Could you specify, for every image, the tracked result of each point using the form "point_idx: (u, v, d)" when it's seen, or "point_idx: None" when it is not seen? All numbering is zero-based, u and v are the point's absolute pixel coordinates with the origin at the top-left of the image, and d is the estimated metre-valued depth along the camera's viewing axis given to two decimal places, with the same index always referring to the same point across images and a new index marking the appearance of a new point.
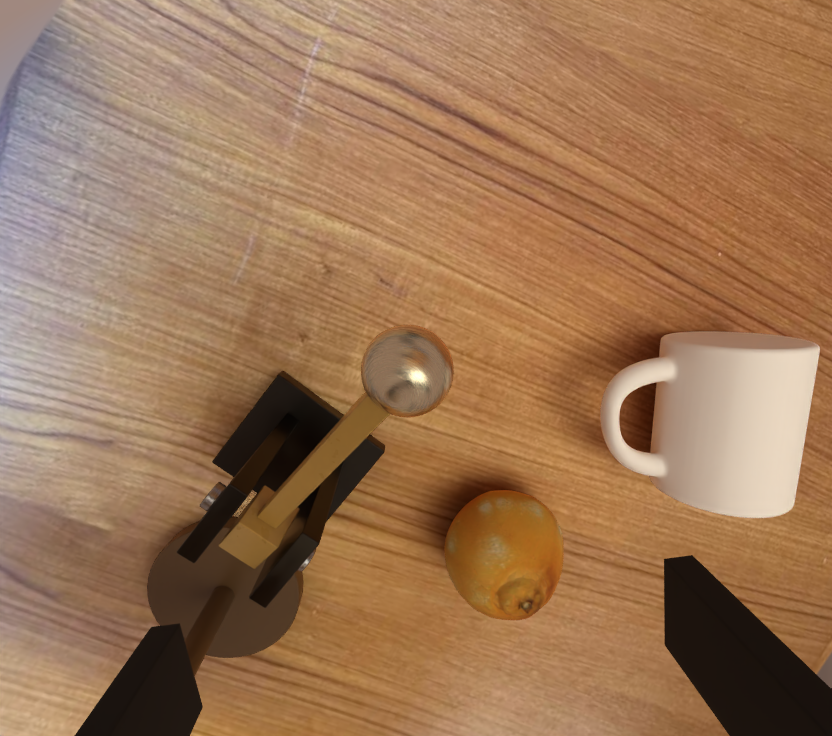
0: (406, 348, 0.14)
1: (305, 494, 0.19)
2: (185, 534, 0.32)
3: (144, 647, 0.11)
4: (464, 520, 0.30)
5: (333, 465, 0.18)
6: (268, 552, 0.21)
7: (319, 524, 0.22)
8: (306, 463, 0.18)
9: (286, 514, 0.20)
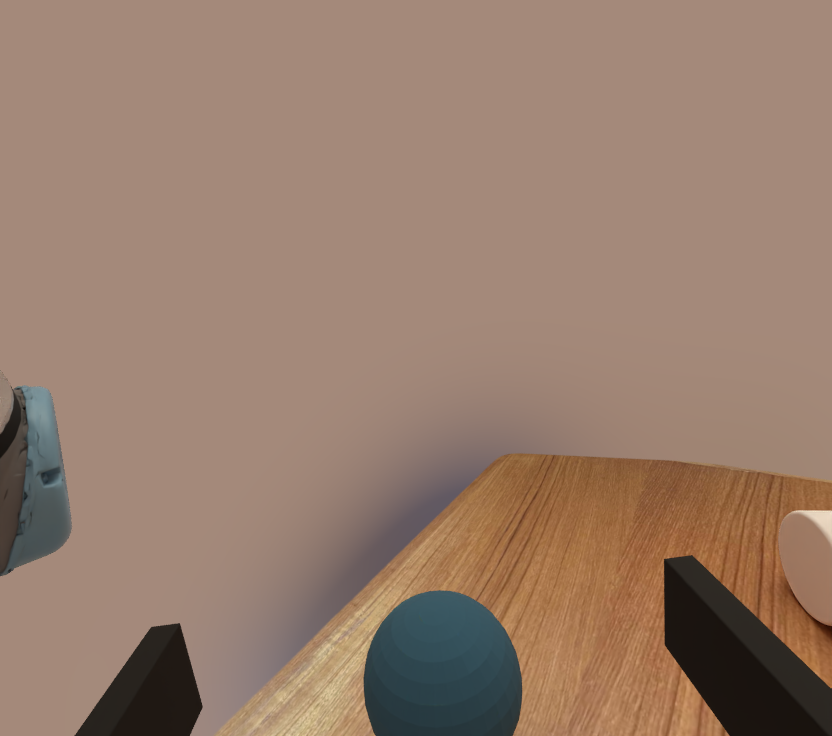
0: None
1: None
2: None
3: (144, 647, 0.11)
4: None
5: None
6: None
7: None
8: None
9: None
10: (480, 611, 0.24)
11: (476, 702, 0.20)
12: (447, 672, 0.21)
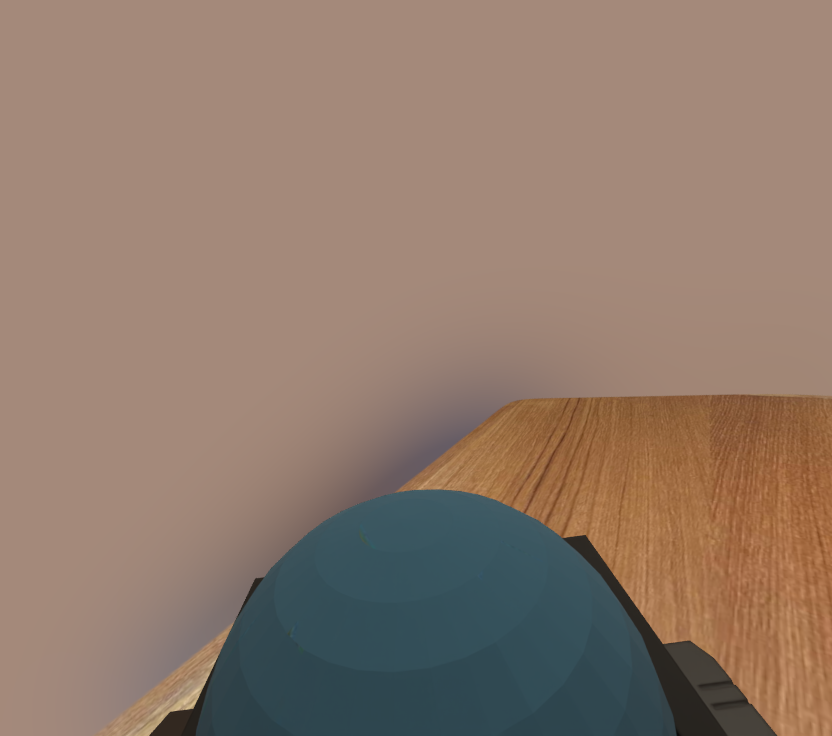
0: None
1: None
2: None
3: None
4: None
5: None
6: None
7: None
8: None
9: None
10: (537, 525, 0.08)
11: None
12: (448, 710, 0.05)
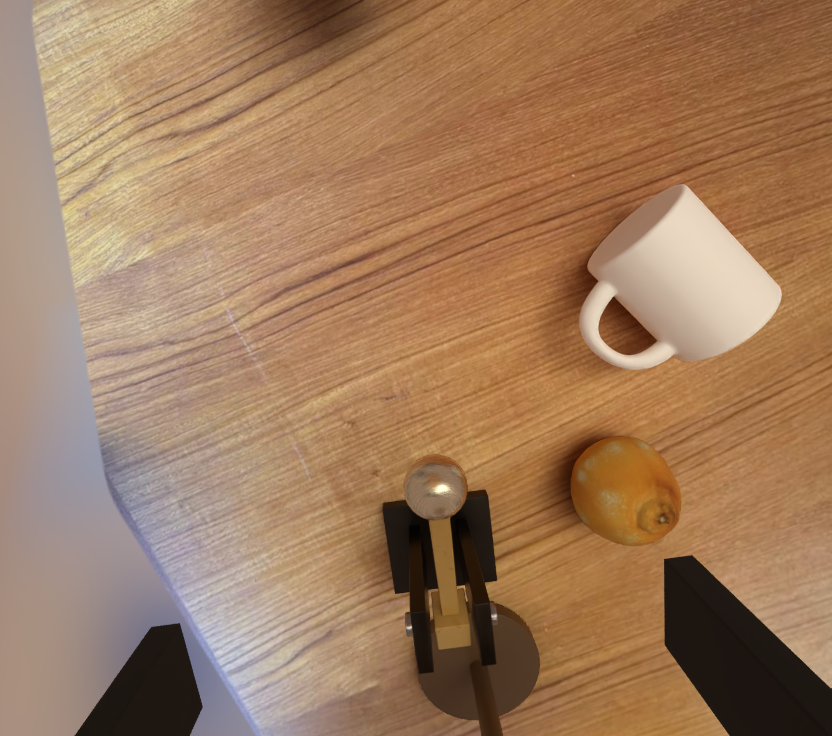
0: (421, 484, 0.21)
1: (453, 584, 0.26)
2: None
3: (144, 647, 0.11)
4: (576, 494, 0.35)
5: (450, 559, 0.25)
6: (467, 630, 0.28)
7: (481, 588, 0.29)
8: (436, 569, 0.25)
9: (456, 602, 0.27)
10: None
11: None
12: None
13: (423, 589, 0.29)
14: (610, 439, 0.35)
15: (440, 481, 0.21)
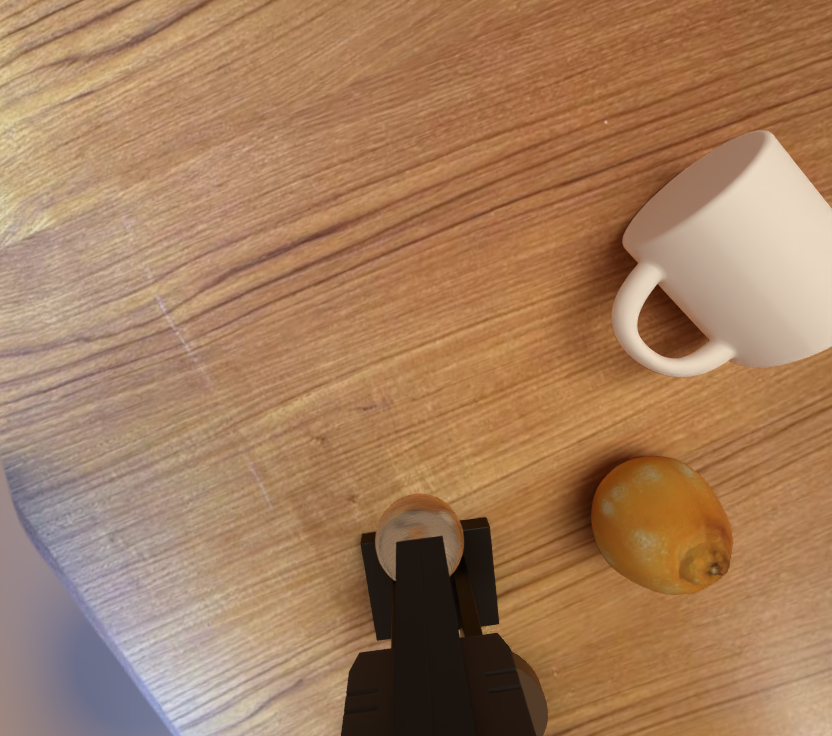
0: (398, 539, 0.15)
1: None
2: None
3: (403, 554, 0.13)
4: (600, 530, 0.28)
5: None
6: None
7: None
8: None
9: None
10: None
11: None
12: None
13: None
14: (643, 461, 0.28)
15: (425, 534, 0.15)
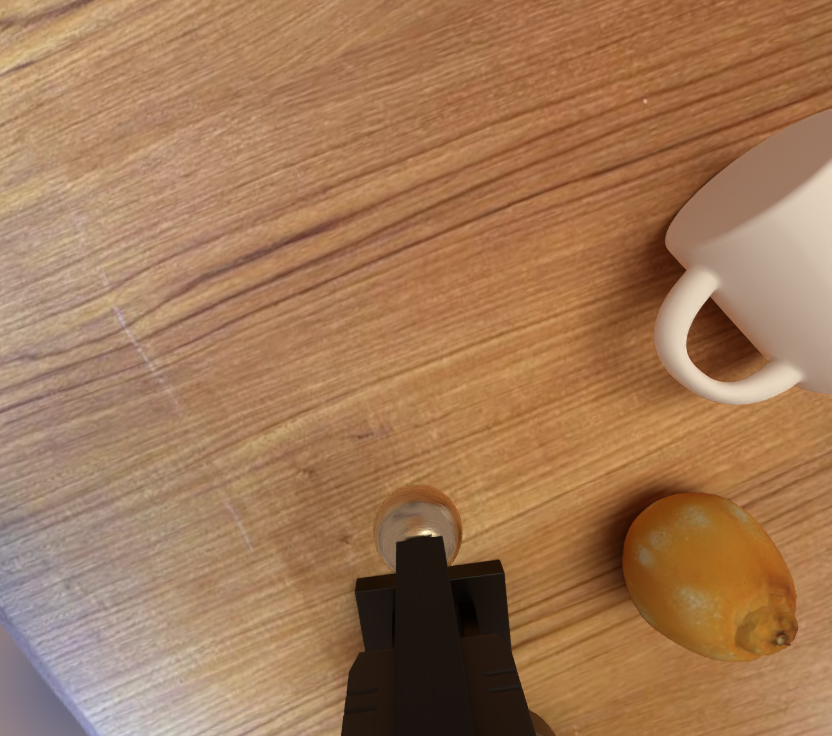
0: (395, 514, 0.15)
1: None
2: None
3: (402, 554, 0.13)
4: (636, 582, 0.24)
5: None
6: None
7: None
8: None
9: None
10: None
11: None
12: None
13: None
14: (686, 500, 0.24)
15: (421, 509, 0.15)
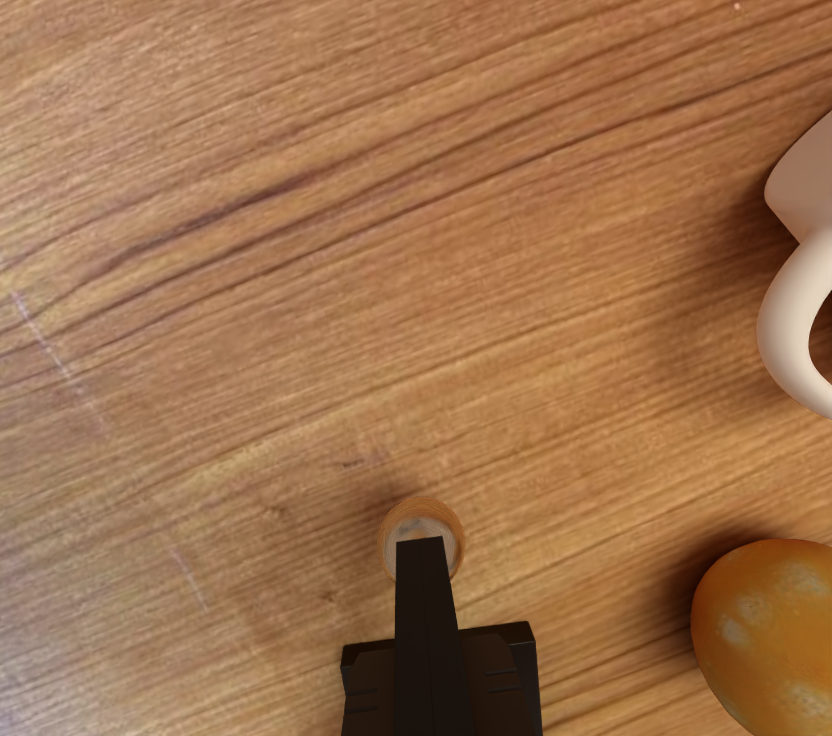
0: (398, 511, 0.16)
1: None
2: None
3: (403, 554, 0.13)
4: (718, 664, 0.18)
5: None
6: None
7: None
8: None
9: None
10: None
11: None
12: None
13: None
14: (785, 553, 0.18)
15: (423, 505, 0.16)
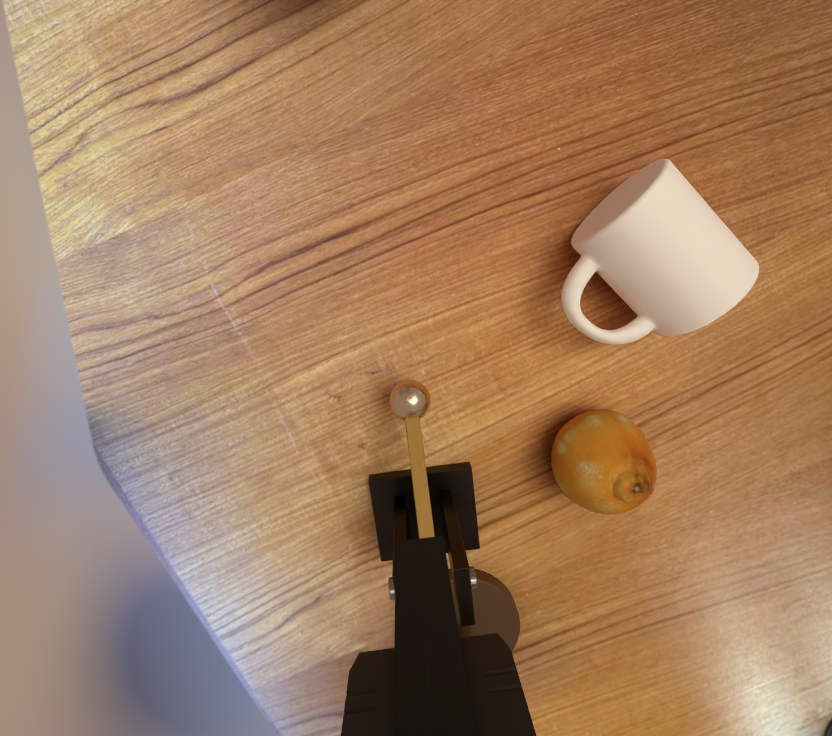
0: (399, 384, 0.34)
1: (429, 508, 0.32)
2: None
3: (403, 554, 0.13)
4: (556, 466, 0.36)
5: (424, 472, 0.32)
6: None
7: (461, 554, 0.30)
8: (413, 485, 0.32)
9: None
10: None
11: None
12: None
13: None
14: (590, 412, 0.36)
15: (410, 381, 0.34)
